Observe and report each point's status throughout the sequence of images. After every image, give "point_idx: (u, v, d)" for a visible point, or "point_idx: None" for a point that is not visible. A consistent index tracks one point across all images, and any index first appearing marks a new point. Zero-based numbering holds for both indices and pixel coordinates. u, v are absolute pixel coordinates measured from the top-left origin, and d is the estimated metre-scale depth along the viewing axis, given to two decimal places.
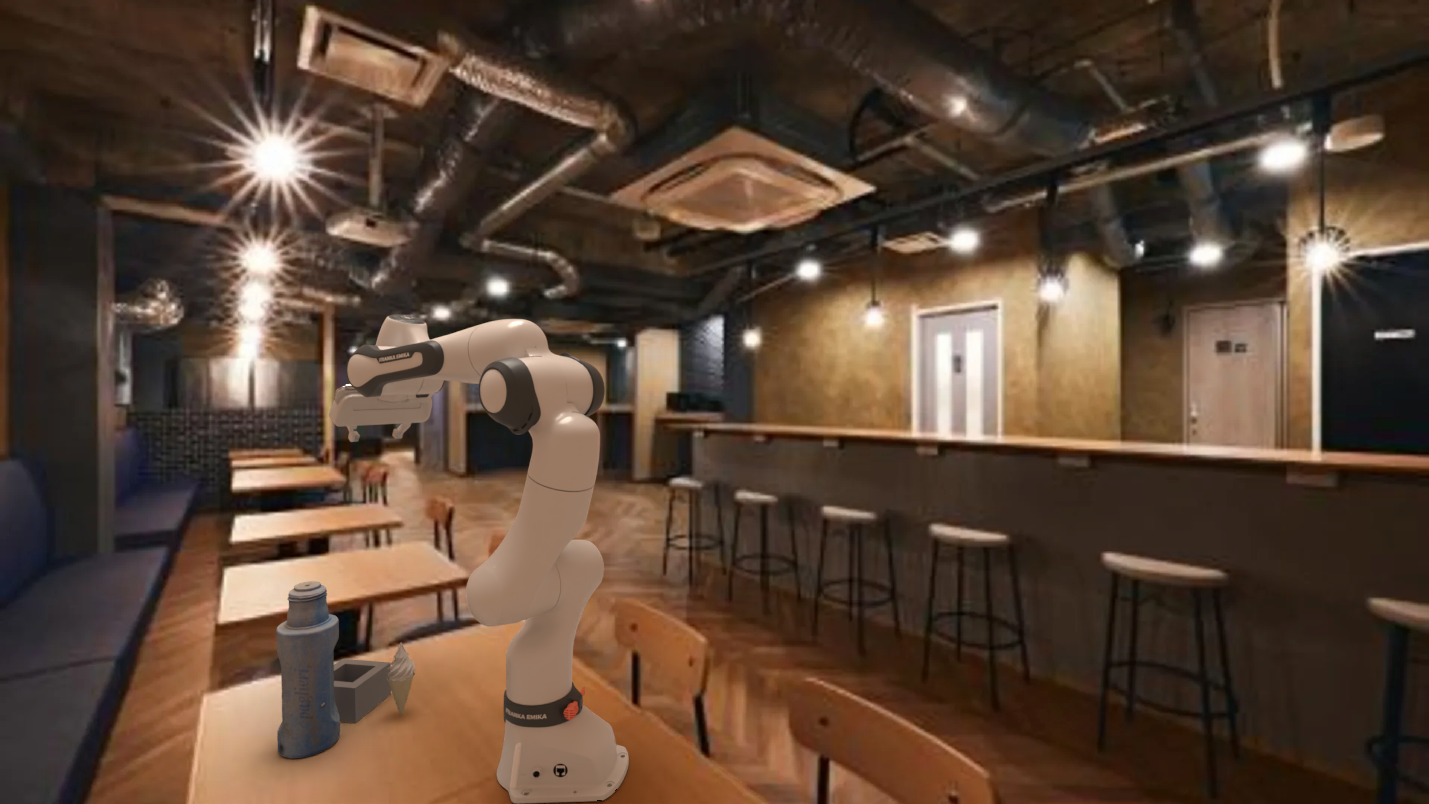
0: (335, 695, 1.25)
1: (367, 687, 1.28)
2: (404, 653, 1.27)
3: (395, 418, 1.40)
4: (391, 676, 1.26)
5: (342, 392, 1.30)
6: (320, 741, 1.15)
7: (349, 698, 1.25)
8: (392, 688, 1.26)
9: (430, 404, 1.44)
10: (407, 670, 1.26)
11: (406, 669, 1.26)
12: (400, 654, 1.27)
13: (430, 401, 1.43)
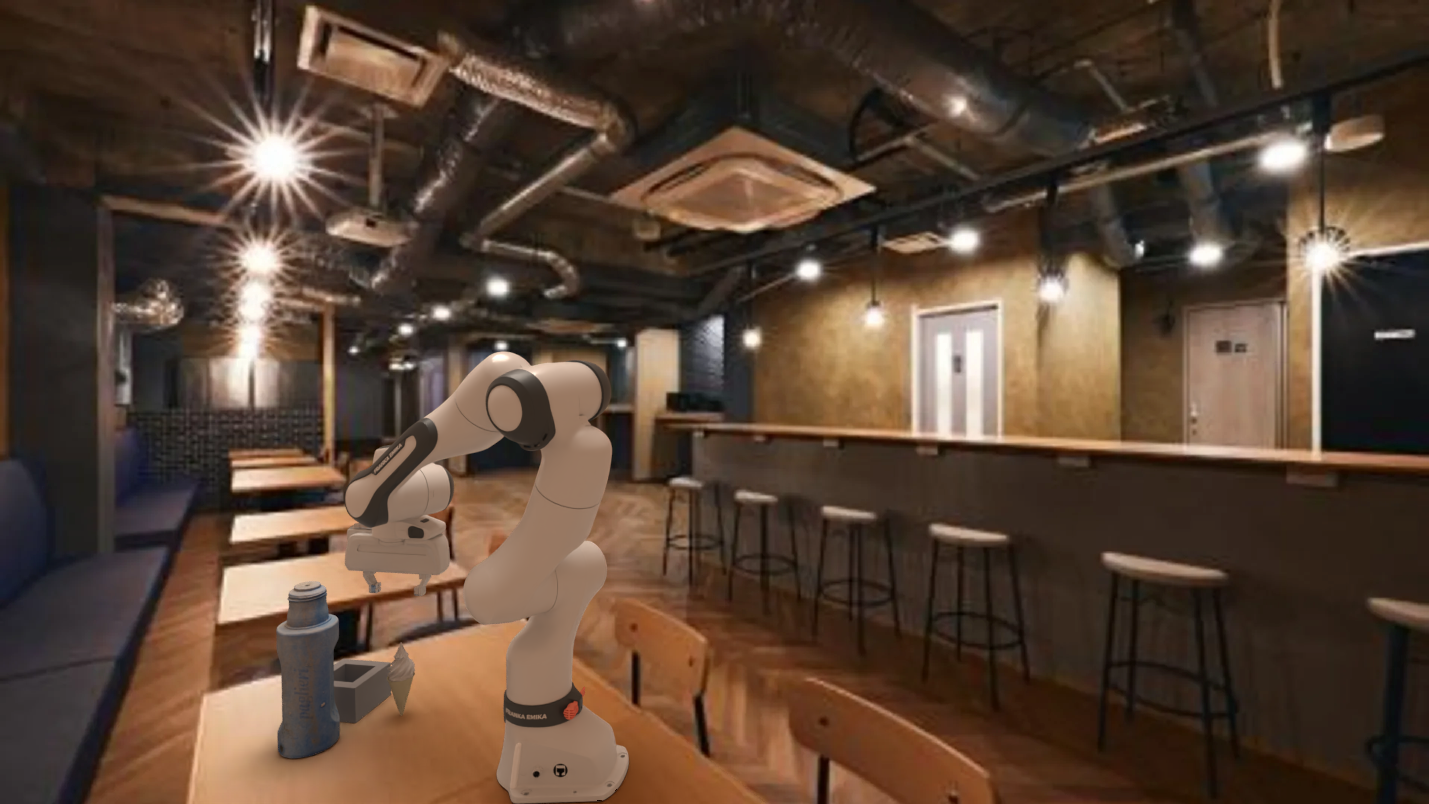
0: (335, 695, 1.25)
1: (367, 687, 1.28)
2: (404, 653, 1.27)
3: (402, 566, 1.24)
4: (391, 676, 1.26)
5: (351, 531, 1.27)
6: (320, 741, 1.15)
7: (349, 698, 1.25)
8: (392, 688, 1.26)
9: (434, 550, 1.23)
10: (407, 670, 1.26)
11: (406, 669, 1.26)
12: (400, 654, 1.27)
13: (432, 545, 1.23)
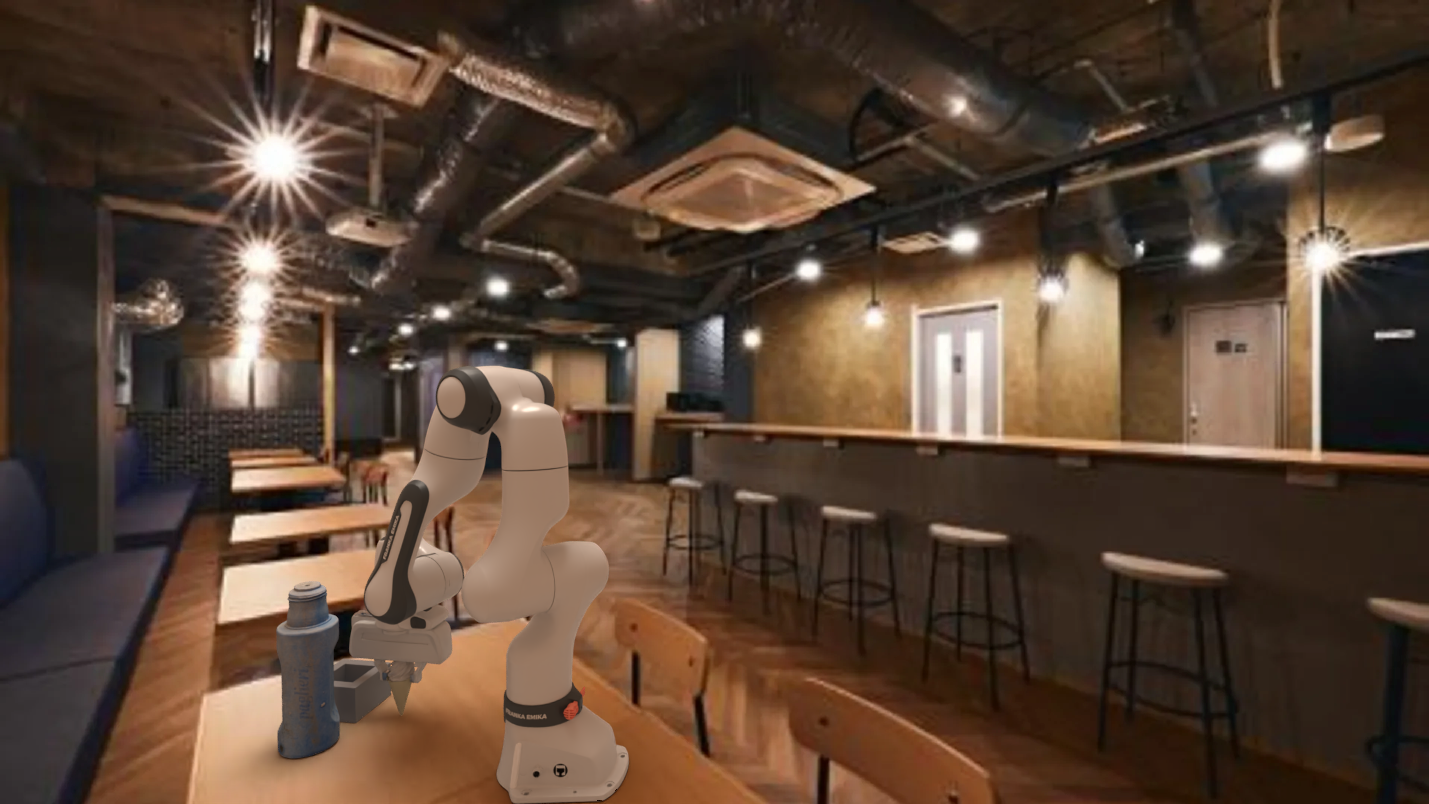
0: (335, 695, 1.25)
1: (367, 687, 1.28)
2: None
3: (405, 654, 1.25)
4: (391, 676, 1.26)
5: (356, 618, 1.28)
6: (320, 741, 1.15)
7: (349, 698, 1.25)
8: (392, 688, 1.26)
9: (436, 640, 1.23)
10: (407, 670, 1.26)
11: (406, 669, 1.26)
12: None
13: (434, 635, 1.23)
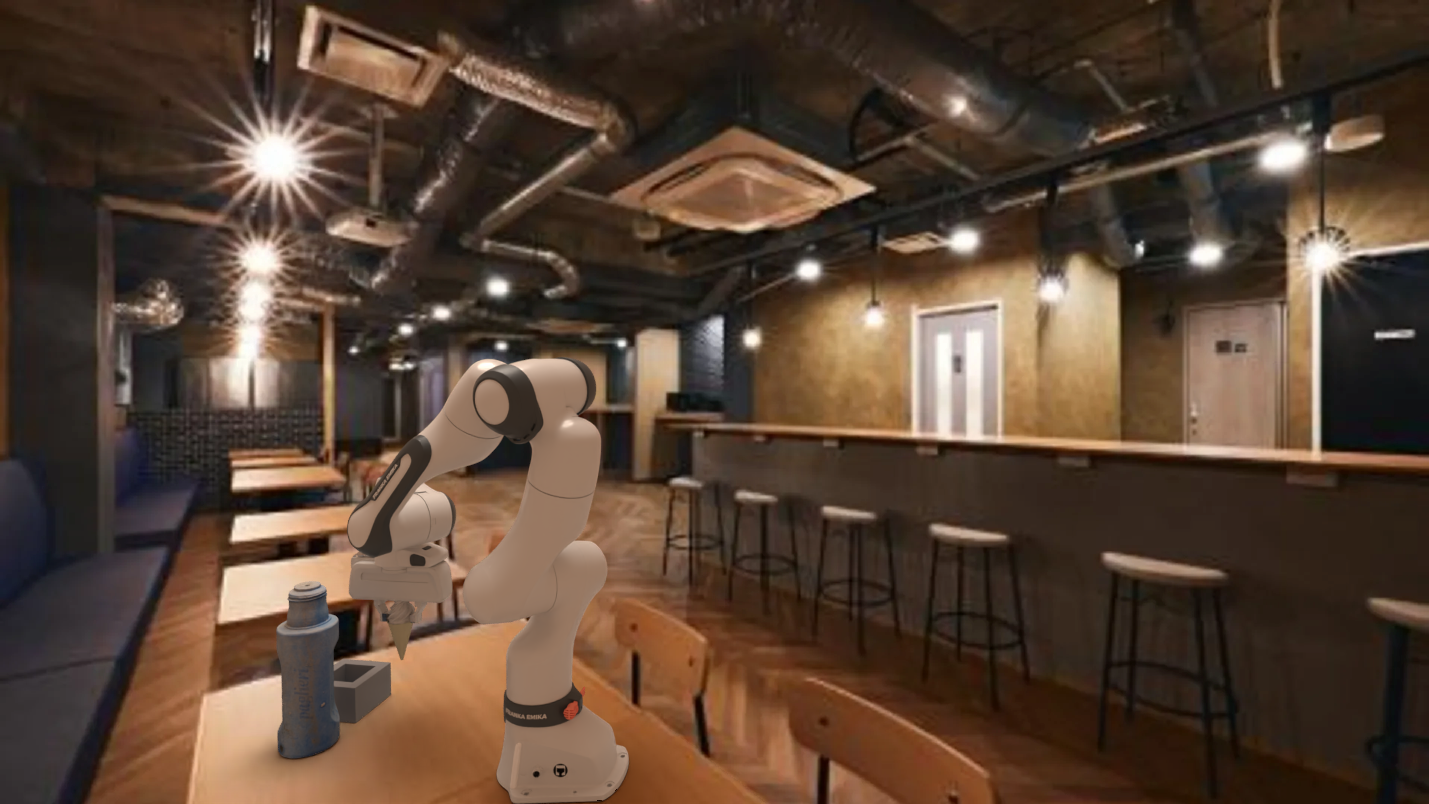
0: (335, 695, 1.25)
1: (367, 687, 1.28)
2: None
3: (404, 594, 1.24)
4: (391, 619, 1.25)
5: (355, 559, 1.27)
6: (320, 741, 1.15)
7: (349, 698, 1.25)
8: (392, 631, 1.25)
9: (435, 577, 1.23)
10: (407, 613, 1.26)
11: (406, 612, 1.26)
12: None
13: (434, 573, 1.23)
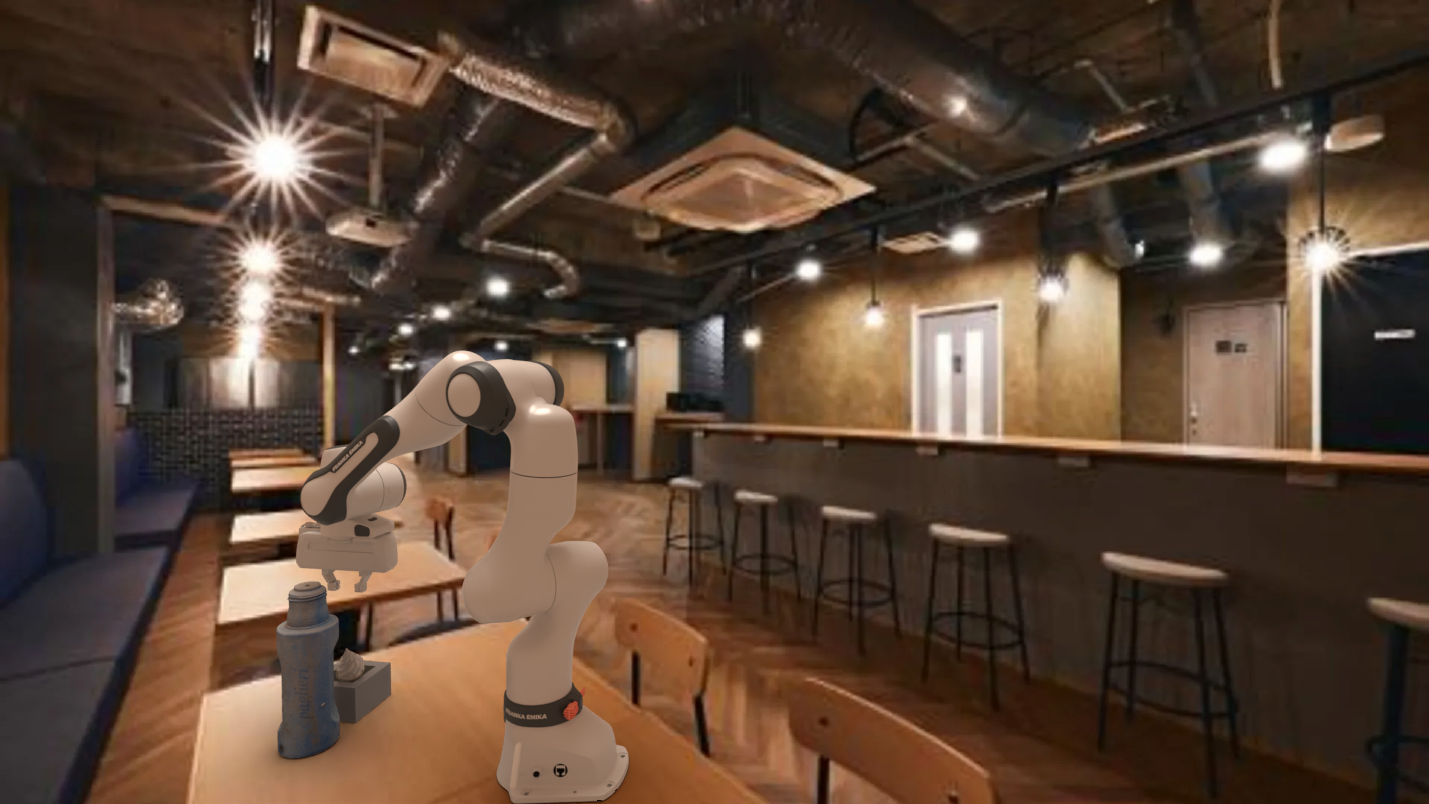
0: (335, 695, 1.25)
1: (367, 687, 1.28)
2: (349, 658, 1.26)
3: (350, 563, 1.27)
4: (338, 672, 1.28)
5: (303, 529, 1.30)
6: (320, 741, 1.15)
7: (349, 698, 1.25)
8: (341, 680, 1.29)
9: (380, 548, 1.26)
10: (351, 673, 1.27)
11: (351, 672, 1.27)
12: (345, 658, 1.26)
13: (378, 543, 1.26)
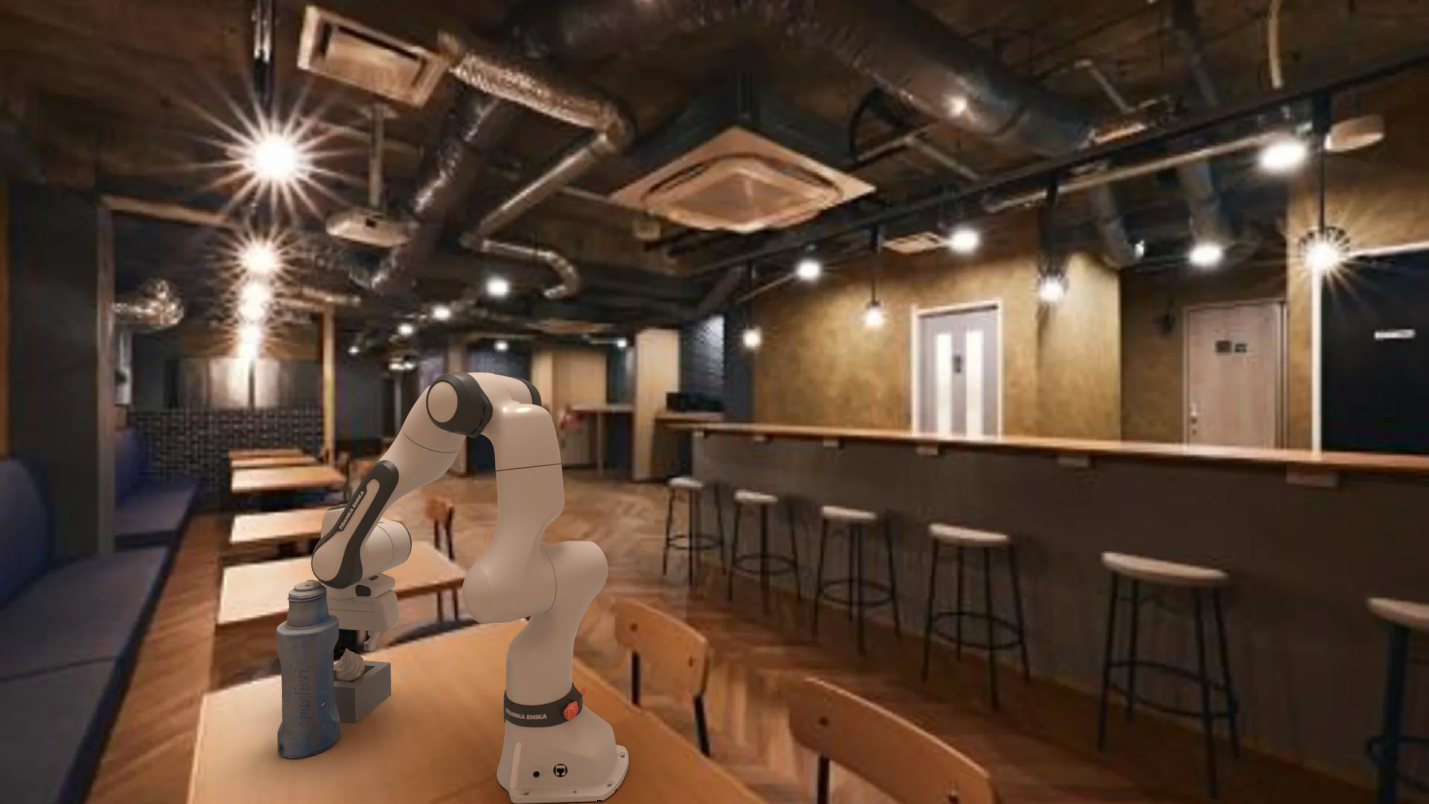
0: (335, 695, 1.25)
1: (367, 687, 1.28)
2: (349, 658, 1.26)
3: (351, 622, 1.28)
4: (338, 672, 1.28)
5: None
6: (320, 741, 1.15)
7: (349, 698, 1.25)
8: (341, 680, 1.29)
9: (380, 607, 1.26)
10: (351, 673, 1.27)
11: (351, 672, 1.27)
12: (345, 658, 1.26)
13: (379, 603, 1.26)
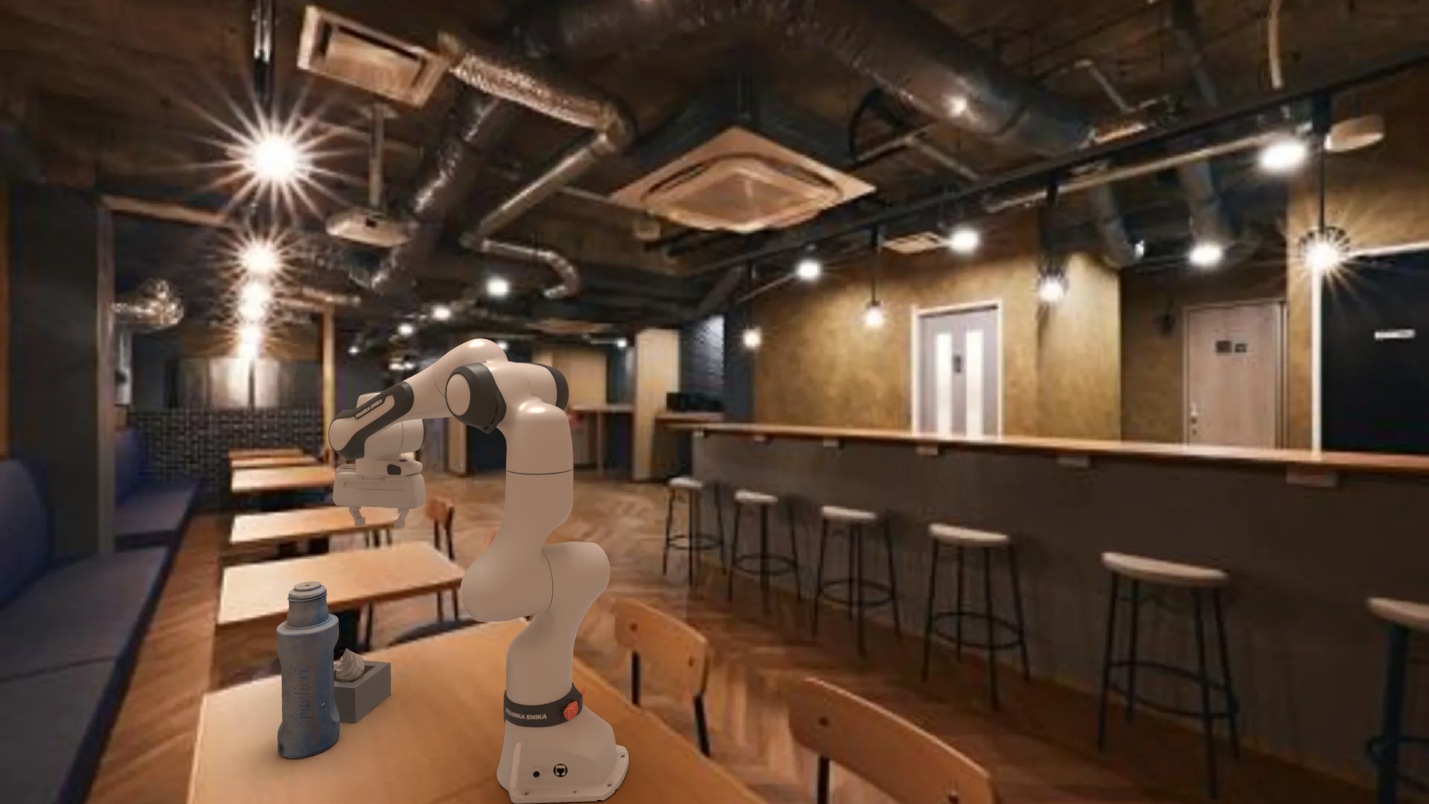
0: (335, 695, 1.25)
1: (367, 687, 1.28)
2: (349, 658, 1.26)
3: (382, 500, 1.39)
4: (338, 672, 1.28)
5: (339, 470, 1.42)
6: (320, 741, 1.15)
7: (349, 698, 1.25)
8: (341, 680, 1.29)
9: (410, 486, 1.38)
10: (351, 673, 1.27)
11: (351, 672, 1.27)
12: (345, 658, 1.26)
13: (408, 481, 1.38)
